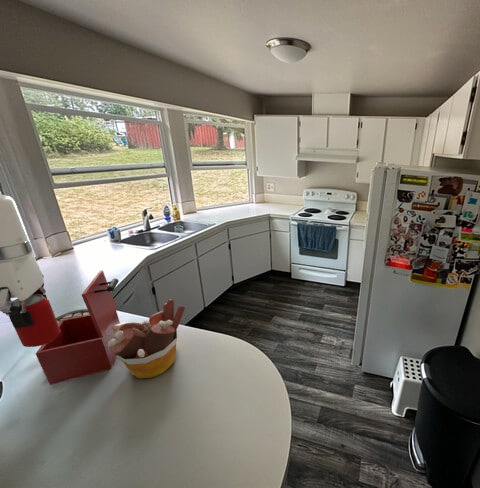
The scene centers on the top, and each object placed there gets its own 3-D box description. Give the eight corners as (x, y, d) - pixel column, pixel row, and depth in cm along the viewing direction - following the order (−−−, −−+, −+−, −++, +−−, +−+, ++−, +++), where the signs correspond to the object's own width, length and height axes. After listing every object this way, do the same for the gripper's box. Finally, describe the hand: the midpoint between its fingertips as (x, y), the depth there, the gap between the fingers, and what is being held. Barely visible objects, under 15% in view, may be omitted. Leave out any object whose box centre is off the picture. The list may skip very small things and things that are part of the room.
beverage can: (58, 327, 69) (44, 289, 65) (64, 338, 65) (49, 299, 61) (21, 341, 64) (3, 300, 60) (25, 353, 60) (6, 311, 56)
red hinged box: (49, 384, 74) (35, 353, 70) (72, 347, 88) (61, 319, 84) (111, 368, 80) (101, 338, 76) (123, 336, 94) (116, 309, 90)
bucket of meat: (138, 399, 71) (121, 343, 64) (107, 376, 77) (89, 322, 71) (200, 353, 87) (191, 304, 81) (170, 337, 94) (160, 291, 87)
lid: (81, 294, 70) (106, 289, 72) (99, 270, 84) (120, 267, 86) (99, 338, 76) (122, 332, 78) (114, 308, 90) (133, 304, 92)
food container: (100, 325, 99) (93, 304, 95) (102, 333, 95) (95, 311, 91) (56, 340, 91) (46, 317, 87) (56, 349, 87) (46, 326, 83)
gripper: (7, 240, 62) (32, 302, 68) (-53, 269, 47) (-14, 344, 53) (48, 237, 65) (69, 296, 71) (5, 263, 50) (35, 335, 56)
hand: (33, 316), depth 62 cm, fingers closed on beverage can, 6 cm apart
